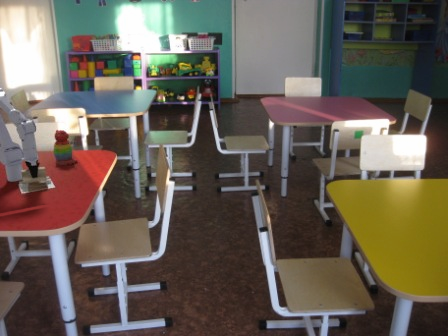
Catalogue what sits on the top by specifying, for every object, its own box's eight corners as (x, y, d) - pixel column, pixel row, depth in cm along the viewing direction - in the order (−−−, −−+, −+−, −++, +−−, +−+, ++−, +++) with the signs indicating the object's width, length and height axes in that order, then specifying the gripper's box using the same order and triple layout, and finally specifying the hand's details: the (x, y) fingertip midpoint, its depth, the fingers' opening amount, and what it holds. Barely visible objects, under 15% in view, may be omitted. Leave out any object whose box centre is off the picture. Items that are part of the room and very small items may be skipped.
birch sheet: (23, 185, 211) (20, 170, 209) (46, 180, 215) (44, 166, 213) (24, 186, 208) (21, 172, 206) (47, 182, 213) (45, 168, 211)
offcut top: (28, 186, 204) (28, 183, 204) (45, 183, 208) (44, 180, 207) (29, 188, 202) (29, 185, 201) (46, 185, 205) (45, 182, 205)
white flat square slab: (18, 186, 212) (17, 181, 212) (50, 181, 219) (49, 175, 218) (22, 196, 201) (21, 190, 200) (55, 189, 207) (54, 184, 206)
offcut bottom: (28, 189, 205) (27, 186, 204) (47, 186, 208) (46, 183, 208) (28, 191, 202) (28, 188, 202) (48, 188, 206) (47, 185, 205)
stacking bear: (79, 162, 247) (74, 129, 241) (61, 167, 240) (56, 133, 234) (68, 158, 254) (64, 127, 248) (51, 163, 247) (46, 130, 241)
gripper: (18, 145, 211) (23, 174, 215) (21, 153, 199) (27, 182, 203) (34, 143, 214) (39, 171, 218) (39, 150, 202) (43, 179, 206)
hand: (34, 176), depth 211 cm, fingers closed on birch sheet, 3 cm apart
